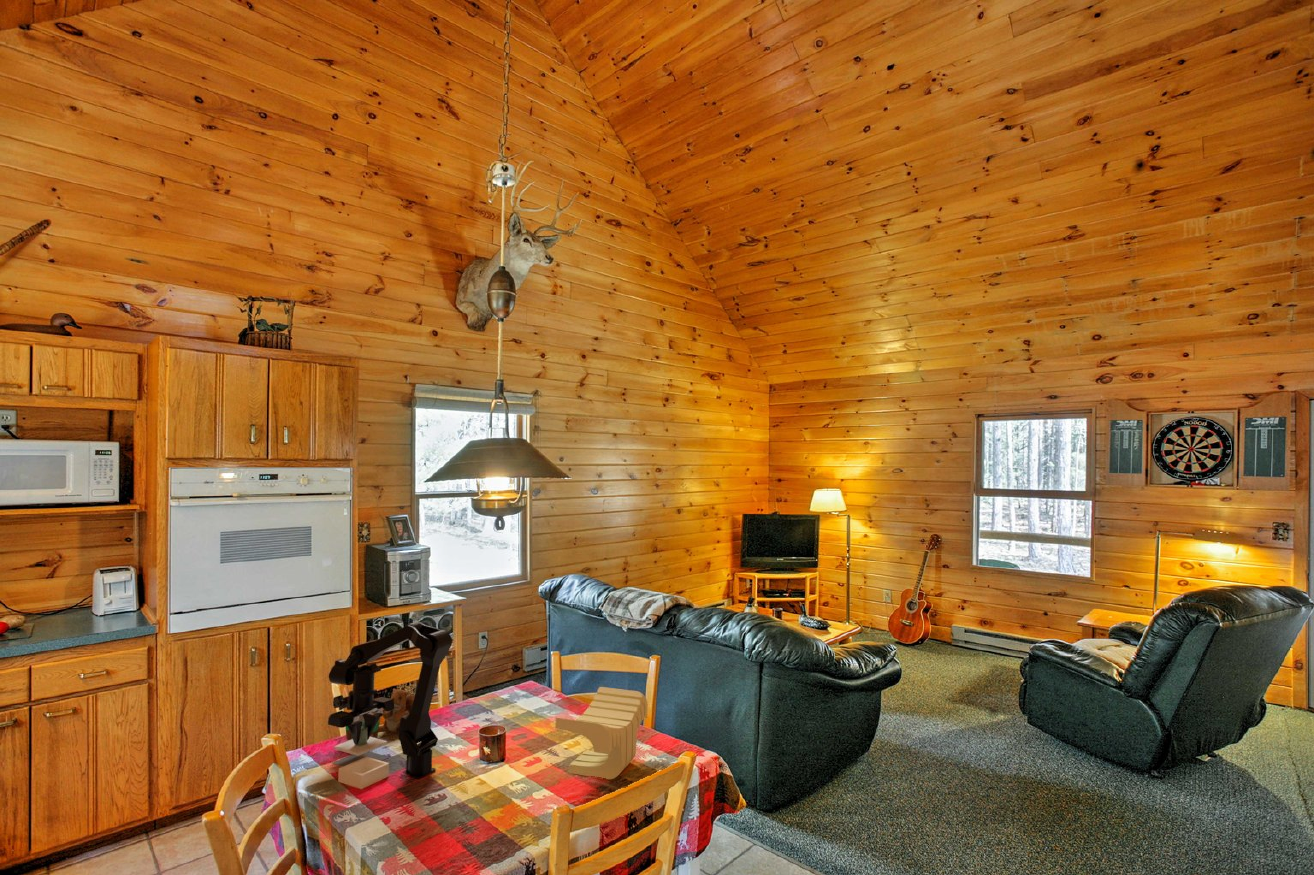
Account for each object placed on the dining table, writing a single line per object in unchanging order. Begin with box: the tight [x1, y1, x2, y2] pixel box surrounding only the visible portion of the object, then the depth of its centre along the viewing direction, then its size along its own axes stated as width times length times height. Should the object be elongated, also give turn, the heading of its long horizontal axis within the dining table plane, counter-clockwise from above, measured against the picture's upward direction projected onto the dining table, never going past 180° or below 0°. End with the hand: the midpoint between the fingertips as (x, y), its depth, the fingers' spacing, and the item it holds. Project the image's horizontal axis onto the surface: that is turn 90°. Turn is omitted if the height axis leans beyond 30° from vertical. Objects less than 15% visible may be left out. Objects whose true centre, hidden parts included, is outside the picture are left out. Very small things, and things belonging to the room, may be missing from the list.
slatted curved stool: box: [554, 686, 648, 780], centre depth 197 cm, size 30×16×18 cm, turn 161°
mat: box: [331, 751, 390, 767], centre depth 197 cm, size 11×11×1 cm
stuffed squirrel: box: [378, 688, 415, 734], centre depth 225 cm, size 10×14×13 cm
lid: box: [333, 726, 388, 756], centre depth 198 cm, size 10×10×5 cm
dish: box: [337, 757, 390, 790], centre depth 185 cm, size 9×9×4 cm
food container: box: [345, 708, 384, 742], centre depth 212 cm, size 12×6×10 cm, turn 143°
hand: (361, 741), depth 198 cm, fingers closed on lid, 3 cm apart
